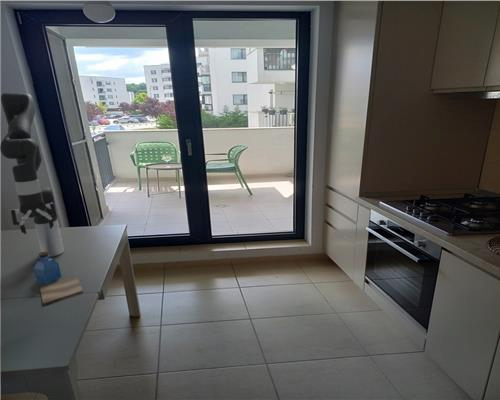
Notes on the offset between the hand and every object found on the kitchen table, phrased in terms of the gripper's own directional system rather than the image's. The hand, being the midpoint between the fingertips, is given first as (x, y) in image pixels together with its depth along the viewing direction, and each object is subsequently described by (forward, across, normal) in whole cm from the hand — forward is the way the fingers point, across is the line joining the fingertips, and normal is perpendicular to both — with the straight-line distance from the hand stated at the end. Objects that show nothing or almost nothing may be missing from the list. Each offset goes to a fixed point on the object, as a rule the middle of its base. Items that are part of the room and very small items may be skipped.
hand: (38, 230), depth 119 cm
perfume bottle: (+22, 0, 0) cm, 22 cm away
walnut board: (+22, -3, +14) cm, 26 cm away
